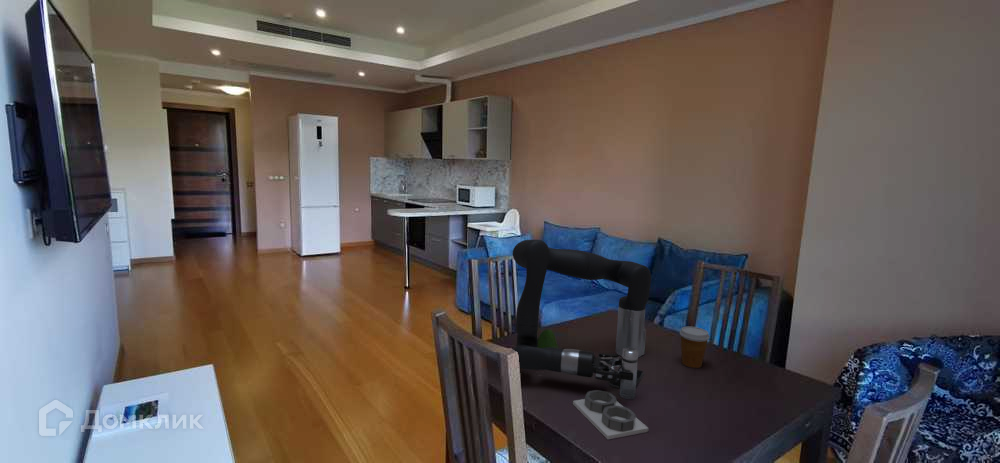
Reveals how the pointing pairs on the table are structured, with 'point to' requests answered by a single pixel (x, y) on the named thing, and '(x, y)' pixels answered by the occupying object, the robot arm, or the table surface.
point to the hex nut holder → (609, 415)
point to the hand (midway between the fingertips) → (633, 370)
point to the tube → (629, 366)
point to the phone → (617, 384)
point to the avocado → (547, 339)
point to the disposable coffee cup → (693, 345)
